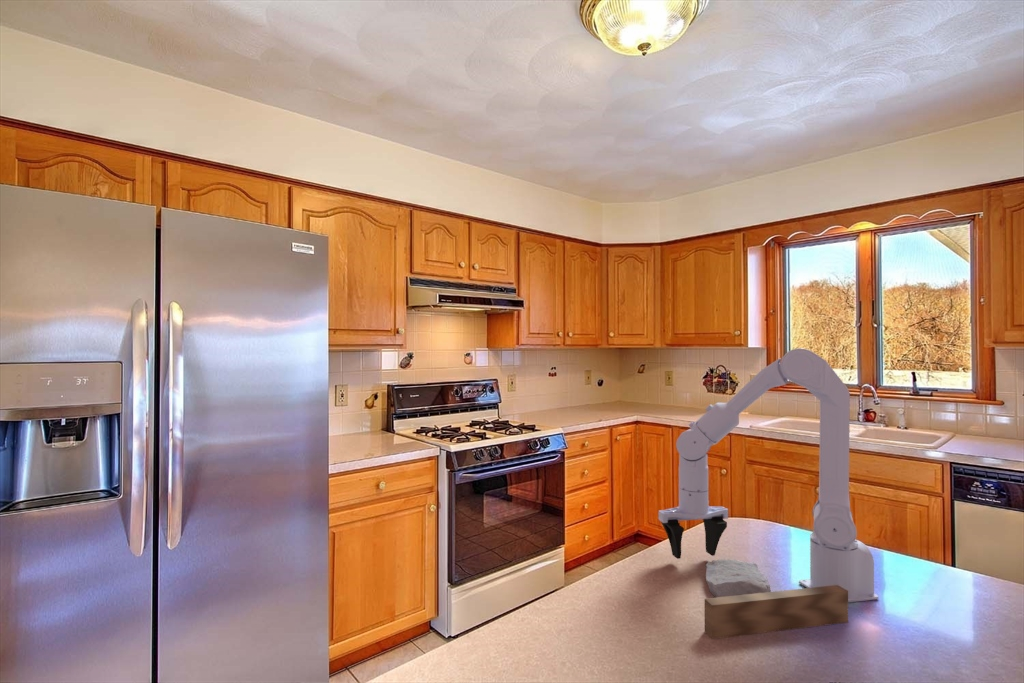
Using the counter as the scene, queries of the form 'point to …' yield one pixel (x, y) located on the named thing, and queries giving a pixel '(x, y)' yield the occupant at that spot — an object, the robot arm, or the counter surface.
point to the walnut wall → (775, 611)
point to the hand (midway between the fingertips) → (693, 555)
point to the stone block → (735, 578)
